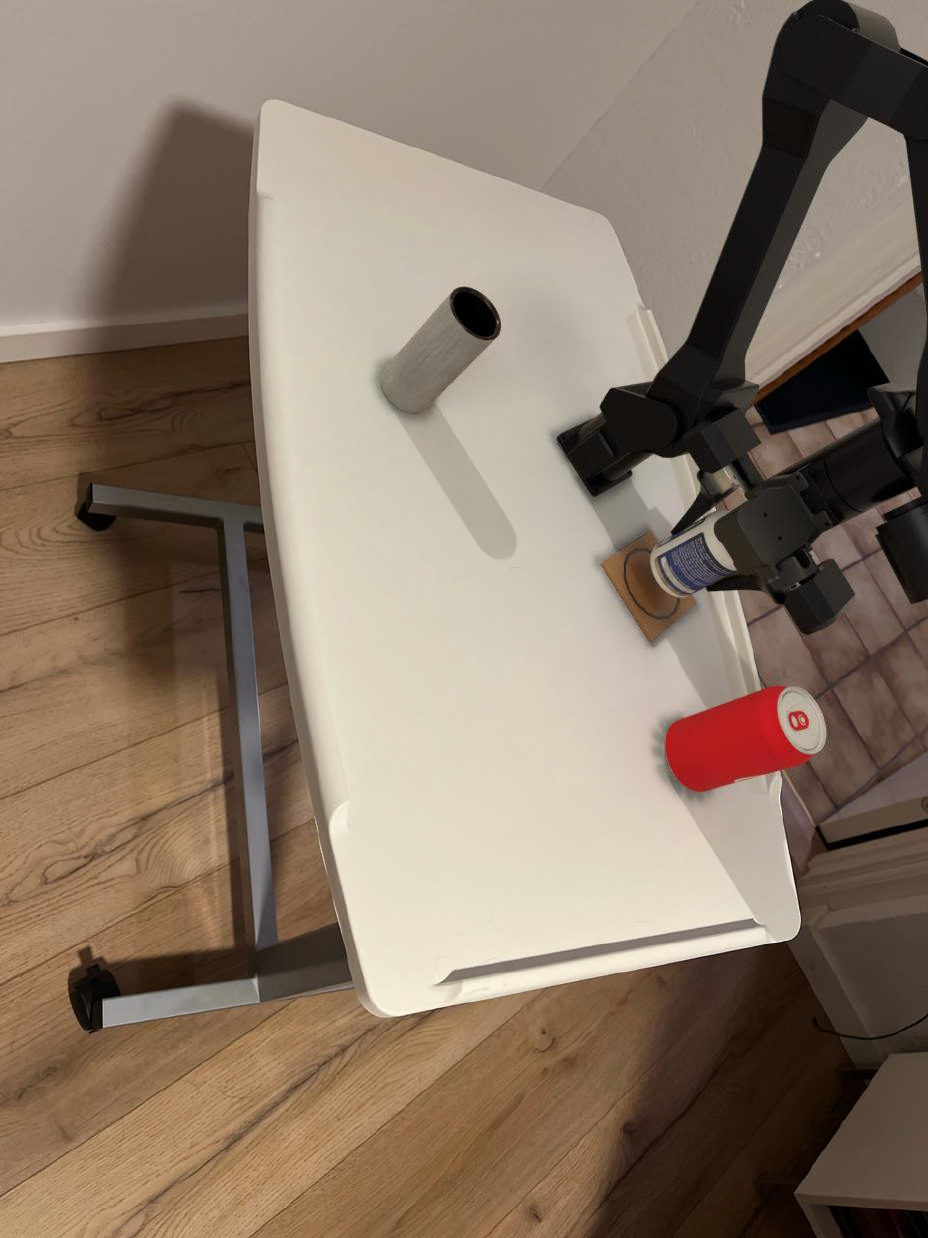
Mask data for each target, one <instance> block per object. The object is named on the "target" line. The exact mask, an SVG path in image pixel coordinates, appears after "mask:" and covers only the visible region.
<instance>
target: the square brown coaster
mask: <svg viewBox="0 0 928 1238" xmlns="http://www.w3.org/2000/svg"><path fill="white" fill-rule="evenodd" d="M658 543H659V541H658V540H657V538H656V537H655V535H654V533H653V532H652V530H649V531H648V532H647V531H646V533H645V534H643V535H642V536H640V537H639V538H637V539H635V540H634V541H632V542H631V543H629V544H628V545H627V546H625V547H624V548H622V549H620V550H619V551H618V552H616V553H615V554H613V555H612V556H610V557H609V558H607V559H605V560H604V561H603V562H601V563H600V565H601V567H602V569H603V570H604V572H605V573H606V575H607V577H608V578H609V579H610V581H611V582H612V584H613V586H614V587H615V589H616V591H617V593H618V594H619V596H620V598H621V599H622V600H623V602H624V603H625V605H626V607H627V609H628V610H629V611H630V613H631V615H632V616H633V618H634V619H635V621H636V623H637V624H638V626H639V627H640V629H641V631H642V632H643V634H644V635H645V637H646V639H647V640H648V642H652V641H653V640H655V639H656V638H657V637H659V636H660V635H661V634H662V633H663V632H665V631H666V630H667V629H668V628H669V627H670V626H672V625H673V624H675V622H676V621H677V620H679V619H680V618H681V617H682V616H684V615H685V614H686V613H687V612H689V611H690V610H691V609H692V608H694V607H695V606H696V605H697V602H696V601H695V599H694V596H693V594H691V595H689V596H687V597H682V598H679V597H674V596H672V595H670V594H668V593H667V592H666V591H664V590H663V589H662V588H661V587H660V585H659V584H658V583H657V581H656V579H655V577H654V575H653V572H652V569H651V563H650V557H651V552H652V550H653V548H654V547H655V546H656V545H657V544H658Z"/></svg>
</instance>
